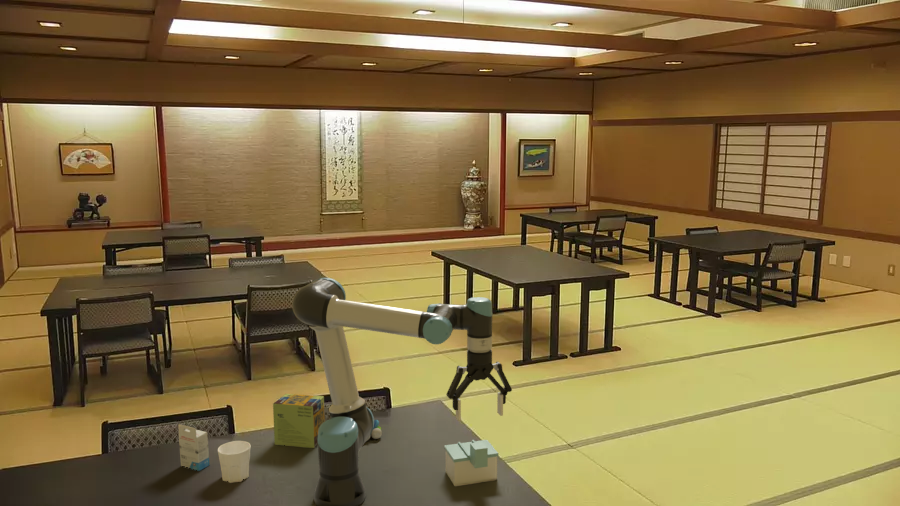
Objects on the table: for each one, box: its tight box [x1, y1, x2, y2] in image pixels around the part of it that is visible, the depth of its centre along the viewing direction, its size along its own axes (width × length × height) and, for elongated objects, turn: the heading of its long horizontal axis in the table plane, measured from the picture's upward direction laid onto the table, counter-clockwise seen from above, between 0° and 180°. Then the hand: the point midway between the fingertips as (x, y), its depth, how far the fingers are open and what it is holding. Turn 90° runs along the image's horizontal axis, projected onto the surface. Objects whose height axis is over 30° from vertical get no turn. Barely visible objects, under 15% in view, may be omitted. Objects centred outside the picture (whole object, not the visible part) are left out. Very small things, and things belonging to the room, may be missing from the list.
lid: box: [443, 439, 499, 468], centre depth 215 cm, size 15×15×6 cm
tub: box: [444, 449, 498, 487], centre depth 218 cm, size 14×10×8 cm
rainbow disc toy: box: [366, 419, 383, 442], centre depth 249 cm, size 8×10×7 cm
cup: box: [217, 440, 252, 484], centre depth 219 cm, size 10×10×10 cm
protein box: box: [272, 393, 326, 449], centre depth 245 cm, size 10×15×16 cm
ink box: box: [177, 423, 210, 472], centre depth 226 cm, size 9×5×15 cm, turn 62°
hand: (479, 416), depth 209 cm, fingers open, 13 cm apart
